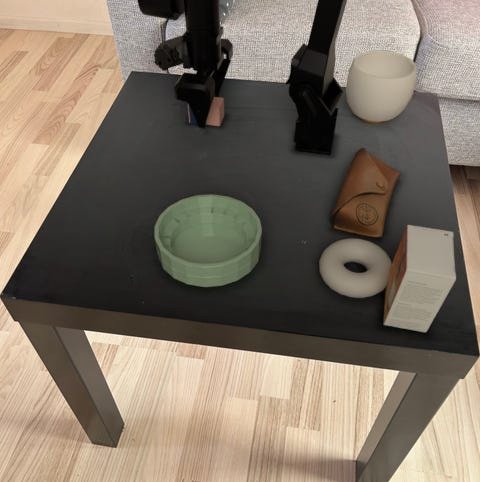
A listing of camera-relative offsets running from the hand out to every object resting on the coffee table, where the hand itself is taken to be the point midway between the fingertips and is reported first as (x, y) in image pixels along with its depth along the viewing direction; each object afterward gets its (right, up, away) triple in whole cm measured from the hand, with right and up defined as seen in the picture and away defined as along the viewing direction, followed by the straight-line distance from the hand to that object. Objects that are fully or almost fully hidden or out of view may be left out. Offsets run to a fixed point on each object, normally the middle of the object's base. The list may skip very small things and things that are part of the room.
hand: (207, 114), depth 91 cm
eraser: (0, -1, +1) cm, 1 cm away
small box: (+28, -38, -27) cm, 54 cm away
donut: (+22, -33, -24) cm, 46 cm away
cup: (+32, 0, +2) cm, 32 cm away
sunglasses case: (+27, -20, -13) cm, 36 cm away
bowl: (+2, -29, -21) cm, 36 cm away
